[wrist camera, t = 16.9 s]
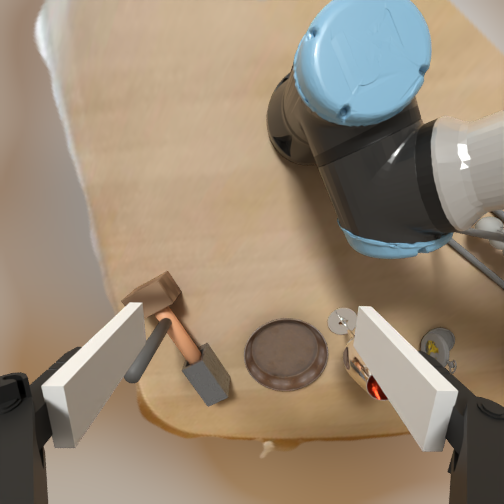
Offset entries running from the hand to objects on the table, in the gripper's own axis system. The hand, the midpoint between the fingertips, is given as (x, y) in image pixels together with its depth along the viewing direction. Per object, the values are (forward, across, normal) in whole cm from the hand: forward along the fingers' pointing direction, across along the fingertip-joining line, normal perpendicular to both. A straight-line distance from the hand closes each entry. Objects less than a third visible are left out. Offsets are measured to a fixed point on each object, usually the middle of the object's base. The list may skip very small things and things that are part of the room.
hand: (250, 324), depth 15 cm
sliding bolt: (+33, -14, -21) cm, 41 cm away
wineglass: (+35, +20, -19) cm, 44 cm away
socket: (+35, -19, -13) cm, 41 cm away
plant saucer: (+35, +8, -26) cm, 44 cm away
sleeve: (+35, -9, -30) cm, 47 cm away
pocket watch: (+35, +40, -23) cm, 58 cm away
